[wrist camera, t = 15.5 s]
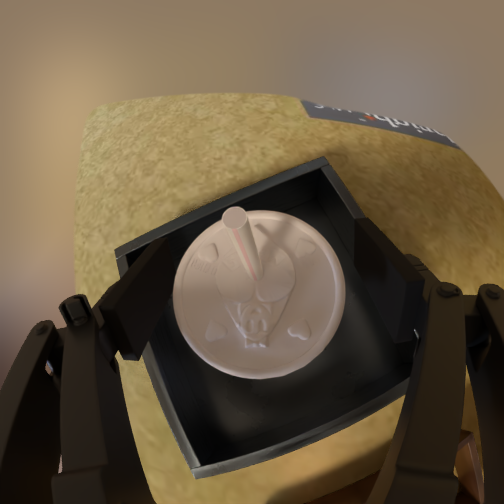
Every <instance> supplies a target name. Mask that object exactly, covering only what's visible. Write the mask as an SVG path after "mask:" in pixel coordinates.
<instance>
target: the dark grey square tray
mask: <svg viewBox="0 0 504 504" xmlns="http://www.w3.org/2000/svg"><path fill="white" fill-rule="evenodd" d="M231 207H240V208H242V209H244V210H245V212H246V211H255V210H267V211H276V212H281V213H285V214H288V215H291V216H294V217H296V218H298V219H300V220H302V221H304V222H306V223H307V224H309V225H310V226H312V227H313V228H314V229H316V230H317V231H318V232H319V233H320V234H321V235H322V236H323V237H324V238H325V239H326V240H327V242H328V243H329V244H330V245H331V247H332V248H333V250H334V252H335V253H336V255H337V257H338V260H339V262H340V265H341V267H342V271H343V275H344V280H345V292H346V294H345V305H344V311H343V314H342V318H341V321H340V323H339V326H338V328H337V330H336V332H335V334H334V336H333V337H332V339H331V340H330V342H329V343H328V345H327V346H326V347H325V348H324V350H323V351H322V352H321V353H320V354H319V355H318V356H316V357H315V358H314V359H313V360H312V361H310V362H309V363H308V364H307V365H306V366H304V367H302V368H300V369H298V370H296V371H293V372H291V373H289V374H287V375H284V376H280V377H273V378H266V379H249V378H242V377H237V376H233V375H230V374H227V373H225V372H222V371H220V370H218V369H216V368H214V367H213V366H211V365H210V364H208V363H207V362H205V361H204V360H203V359H202V358H200V357H199V356H198V355H197V354H196V353H195V352H194V351H193V349H192V348H191V347H190V346H189V344H188V343H187V341H186V340H185V338H184V336H183V335H182V333H181V331H180V328H179V326H178V323H177V320H176V317H175V312H174V305H173V292H172V294H171V296H170V298H169V300H168V302H167V304H166V306H165V308H164V310H163V312H162V314H161V316H160V318H159V320H158V322H157V324H156V326H155V328H154V330H153V332H152V334H151V336H150V338H149V340H148V342H147V345H146V347H145V349H144V351H143V353H142V356H143V359H144V362H145V365H146V368H147V371H148V374H149V376H150V379H151V382H152V384H153V387H154V390H155V392H156V395H157V397H158V400H159V402H160V405H161V407H162V410H163V412H164V415H165V417H166V419H167V422H168V424H169V426H170V428H171V431H172V433H173V435H174V437H175V439H176V441H177V444H178V446H179V448H180V450H181V452H182V454H183V456H184V458H185V460H186V462H187V464H188V466H189V468H191V469H190V470H191V472H192V474H193V476H194V477H195V479H200V478H205V477H210V476H214V475H218V474H222V473H226V472H230V471H234V470H238V469H241V468H245V467H248V466H251V465H255V464H258V463H261V462H264V461H267V460H270V459H273V458H276V457H279V456H281V455H284V454H287V453H290V452H292V451H295V450H297V449H300V448H302V447H305V446H307V445H310V444H312V443H314V442H317V441H319V440H321V439H323V438H326V437H328V436H330V435H332V434H334V433H336V432H338V431H341V430H343V429H345V428H347V427H349V426H351V425H353V424H354V423H356V422H358V421H360V420H362V419H364V418H366V417H368V416H369V415H371V414H373V413H375V412H377V411H378V410H380V409H382V408H383V407H385V406H387V405H388V404H390V403H392V402H393V401H395V400H397V399H398V398H400V397H401V396H403V395H405V394H406V392H407V388H408V384H409V379H410V375H411V371H412V366H413V361H414V358H413V354H414V351H415V348H416V344H417V341H418V338H419V334H418V333H417V331H416V329H415V330H414V333H413V337H412V340H410V341H406V342H401V343H396V344H395V343H394V341H393V339H392V337H391V335H390V333H389V331H388V329H387V327H386V325H385V323H384V321H383V319H382V317H381V315H380V313H379V311H378V309H377V307H376V305H375V303H374V301H373V300H372V298H371V296H370V294H369V292H368V290H367V288H366V286H365V285H364V283H363V281H362V279H361V277H360V275H359V274H358V272H357V270H356V268H355V266H354V219H355V218H366V217H365V215H364V213H363V212H362V210H361V209H360V207H359V206H358V204H357V203H356V201H355V200H354V198H353V196H352V195H351V193H350V192H349V191H348V189H347V188H346V186H345V185H344V183H343V182H342V180H341V179H340V177H339V176H338V175H337V173H336V172H335V170H334V169H333V168H332V166H331V165H330V164H329V162H328V161H327V159H326V158H325V157H324V156H323V157H320V158H317V159H315V160H312V161H310V162H307V163H304V164H302V165H299V166H297V167H294V168H291V169H289V170H286V171H284V172H281V173H279V174H276V175H274V176H271V177H269V178H267V179H264V180H262V181H259V182H257V183H255V184H252V185H250V186H247V187H245V188H243V189H240V190H238V191H236V192H233V193H231V194H229V195H227V196H224V197H222V198H220V199H217V200H215V201H213V202H211V203H209V204H206V205H204V206H202V207H200V208H198V209H195V210H193V211H191V212H189V213H187V214H185V215H183V216H180V217H178V218H176V219H174V220H172V221H170V222H168V223H166V224H164V225H162V226H160V227H158V228H156V229H153V230H151V231H149V232H147V233H145V234H143V235H141V236H139V237H137V238H135V239H134V240H132V241H130V242H128V243H126V244H124V245H122V246H120V247H118V248H116V249H115V250H114V251H115V256H116V261H117V266H118V270H119V275H120V279H121V277H122V276H123V275H124V274H125V273H126V271H127V270H128V269H129V268H130V267H131V266H132V264H133V263H134V262H135V261H136V260H137V259H138V257H139V256H140V255H141V254H142V253H143V252H144V250H145V249H146V248H147V247H148V246H149V245H150V244H151V243H152V241H153V240H154V239H158V238H166V237H167V239H168V243H169V247H170V251H171V255H172V259H173V263H174V267H175V271H176V273H177V270H178V267H179V264H180V262H181V260H182V258H183V256H184V254H185V253H186V251H187V249H188V248H189V247H190V245H191V244H192V243H193V241H194V240H195V239H196V238H197V237H198V236H199V235H200V234H201V233H202V232H204V231H205V230H206V229H207V228H209V227H210V226H211V225H213V224H215V223H216V222H218V221H220V220H222V216H223V214H224V212H225V211H226V210H227V209H229V208H231Z"/></svg>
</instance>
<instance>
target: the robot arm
mask: <svg viewBox="0 0 504 504" xmlns="http://www.w3.org/2000/svg"><path fill="white" fill-rule="evenodd" d="M354 266H355V268H356V270H357V272H358V274H359V275H360V277H361V279H362V281H363V283H364V285H365V286H366V288H367V290H368V292H369V294H370V296H371V298H372V300H373V301H374V303H375V305H376V307H377V309H378V311H379V313H380V315H381V317H382V319H383V321H384V323H385V325H386V327H387V329H388V331H389V333H390V335H391V337H392V339H393V341H394V343H395V344H396V343H401V342H406V341H410V340H412V337H413V333H414V330H415V329H416V331H417V333H418V334H419V338H418V341H417V344H416V348H415V351H414V354H413V358H414V361H413V366H412V371H411V375H410V379H409V384H408V388H407V392H406V396H405V399H404V403H403V407H402V410H401V414H400V417H399V420H398V424H397V427H396V430H395V433H394V436H393V439H392V442H391V445H390V448H389V450H388V453H387V456H386V458H385V461H384V464H383V466H382V469H381V471H380V473H379V476H378V478H377V481H376V483H375V485H374V487H373V490H372V492H371V494H370V496H369V498H368V500H367V502H366V503H365V504H454V502H455V499H456V495H457V491H458V485H459V482H458V478H457V477H456V476H455V475H454V473H453V470H454V464H455V460H456V455H457V449H458V444H459V438H460V431H461V424H462V416H463V406H464V394H465V376H466V365H467V369H468V373H469V377H470V382H471V386H472V391H473V395H474V400H475V405H476V411H477V417H478V423H479V430H480V437H481V446H482V456H483V471H484V504H504V290H503V289H502V288H500V287H499V286H498V285H495V284H483V285H481V286H480V288H479V291H478V294H477V295H463V294H462V291H461V289H460V288H459V287H457V286H456V285H454V284H451V283H448V282H440V281H439V280H438V279H437V278H436V277H435V275H434V274H433V273H432V272H431V271H430V270H428V268H427V267H426V266H425V265H424V264H423V263H422V262H421V261H420V259H419V258H417V257H415V256H413V255H411V254H406V255H403V254H402V253H401V251H400V250H399V249H398V248H397V247H396V246H395V245H394V244H393V243H392V242H391V241H390V240H389V239H388V238H387V237H386V236H385V234H384V233H383V232H382V231H381V230H380V229H379V228H378V227H377V226H376V225H375V224H374V223H373V222H372V221H371V220H370V219H369V218H355V219H354ZM175 276H176V271H175V267H174V263H173V259H172V255H171V251H170V247H169V243H168V239H167V237H166V238H158V239H154V240H153V241H152V243H151V244H150V245H149V246H148V247H147V248H146V249H145V250H144V252H143V253H142V254H141V255H140V256H139V257H138V259H137V260H136V261H135V262H134V263H133V264H132V266H131V267H130V268H129V269H128V270H127V271H126V273H125V274H124V275H123V276H122V277H121V279H120V280H119V281H117V282H116V283H114V284H113V285H112V286H110V287H109V288H108V289H107V291H106V292H105V294H103V296H102V297H101V299H99V300H98V302H97V303H96V304H95V305H94V307H93V308H92V309H91V307H90V304H89V302H88V300H87V297H86V296H85V295H83V294H78V295H74V296H71V297H69V298H67V299H66V300H64V301H63V302H62V303H61V304H60V306H59V310H60V312H61V314H62V316H63V318H64V320H65V322H66V324H67V327H65V328H60V329H56V327H55V325H54V323H53V322H52V321H51V320H45V321H41V322H40V323H37V325H35V326H34V327H33V328H32V330H31V332H30V333H29V335H28V336H27V339H26V340H25V342H24V344H23V345H22V347H21V349H20V351H19V353H18V355H17V357H16V359H15V361H14V363H13V365H12V367H11V369H10V371H9V373H8V375H7V377H6V379H5V381H4V384H3V386H2V388H1V390H0V504H156V502H155V501H154V499H153V497H152V494H151V492H150V489H149V486H148V483H147V480H146V477H145V474H144V471H143V468H142V465H141V462H140V458H139V455H138V451H137V448H136V444H135V441H134V437H133V433H132V429H131V425H130V421H129V416H128V412H127V407H126V403H125V398H124V393H123V388H122V382H121V377H120V371H119V364H118V362H117V360H116V358H115V354H116V353H117V351H118V350H119V352H120V354H121V356H122V358H123V360H134V361H139V359H140V357H141V355H142V353H143V351H144V349H145V347H146V345H147V342H148V340H149V338H150V336H151V334H152V332H153V330H154V328H155V326H156V324H157V322H158V320H159V318H160V316H161V314H162V312H163V310H164V308H165V306H166V304H167V302H168V300H169V298H170V296H171V294H172V292H173V288H174V281H175ZM46 363H47V365H48V366H49V368H50V369H51V373H50V375H49V374H48V373H47V371H46V370H45V366H46ZM61 455H62V467H63V468H62V472H61V473H59V474H58V470H59V463H60V457H61Z"/></svg>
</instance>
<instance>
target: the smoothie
mask: <svg viewBox="0 0 504 504" xmlns="http://www.w3.org/2000/svg"><path fill="white" fill-rule="evenodd" d="M345 294H346V292H345V280H344V275H343V271H342V267H341V265H340V262H339V260H338V257H337V255H336V253H335V252H334V250H333V248H332V247H331V245H330V244H329V243H328V242H327V240H326V239H325V238H324V237H323V236H322V235H321V234H320V233H319V232H318V231H317V230H316V229H314V228H313V227H312V226H310V225H309V224H307V223H306V222H304V221H302V220H300V219H298V218H296V217H294V216H291V215H288V214H285V213H281V212H276V211H267V210H255V211H246V212H245V210H244V209H242V208H240V207H231V208H229V209H227V210H226V211H225V212H224V214H223V216H222V220H220V221H218V222H216V223H215V224H213V225H211V226H210V227H209V228H207V229H206V230H205V231H204V232H202V233H201V234H200V235H199V236H198V237H197V238H196V239H195V240H194V241H193V243H192V244H191V245H190V247H189V248H188V249H187V251H186V253H185V254H184V256H183V258H182V260H181V262H180V264H179V267H178V270H177V273H176V276H175V281H174V288H173V305H174V312H175V317H176V320H177V323H178V326H179V328H180V331H181V333H182V335H183V336H184V338H185V340H186V341H187V343H188V344H189V346H190V347H191V348H192V349H193V351H194V352H195V353H196V354H197V355H198V356H199V357H200V358H202V359H203V360H204V361H205V362H207V363H208V364H210V365H211V366H213V367H214V368H216V369H218V370H220V371H222V372H225V373H227V374H230V375H233V376H237V377H242V378H249V379H266V378H273V377H280V376H284V375H287V374H289V373H291V372H293V371H296V370H298V369H300V368H302V367H304V366H306V365H307V364H308V363H309V362H310V361H312V360H313V359H314V358H315V357H316V356H318V355H319V354H320V353H321V352H322V351H323V350H324V348H325V347H326V346H327V345H328V343H329V342H330V340H331V339H332V337H333V336H334V334H335V332H336V330H337V328H338V326H339V323H340V321H341V318H342V314H343V311H344V305H345Z"/></svg>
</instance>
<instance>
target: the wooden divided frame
mask: <svg viewBox="0 0 504 504" xmlns="http://www.w3.org/2000/svg"><path fill="white" fill-rule="evenodd" d="M455 467H456V470H457V474H458V478H459V482H460V486H461V491H462V492H461V493H459V494H458V495H457V496H456V499H455V502H454V504H484V482H483V476H482V471H481V466H480V461H479V456H478V452H477V448H476V444H475V440H474V436H473V433H472V432H470V431H467V430H463V429H461V431H460V438H459V444H458V449H457V455H456V460H455ZM380 471H381V470H379V471H377V472H375V473H374V474H372V475H370V476H368V477H366V478H364V479H362V480H360V481H358V482H355V483H353V484H351V485H349V486H347V487H345V488H342V489H340V490H338V491H335V492H333V493H331V494H328V495H326V496H323V497H321V498H318V499H315V500H313V501H310V502H307V503H304V504H365V503H366V502H367V500H368V498H369V496H370V494H371V492H372V490H373V487H374V485H375V483H376V481H377V478H378V476H379V473H380Z"/></svg>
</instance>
